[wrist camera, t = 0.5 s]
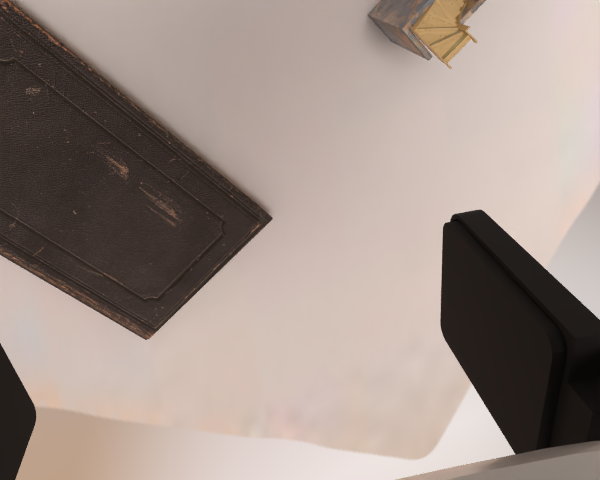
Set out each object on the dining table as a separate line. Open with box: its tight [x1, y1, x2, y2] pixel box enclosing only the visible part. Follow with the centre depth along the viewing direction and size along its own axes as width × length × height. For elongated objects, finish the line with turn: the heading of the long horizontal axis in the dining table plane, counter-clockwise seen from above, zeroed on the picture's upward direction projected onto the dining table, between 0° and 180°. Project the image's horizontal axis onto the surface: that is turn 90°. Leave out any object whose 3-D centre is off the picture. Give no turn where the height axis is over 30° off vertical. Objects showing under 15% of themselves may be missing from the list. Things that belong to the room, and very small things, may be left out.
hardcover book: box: [0, 0, 273, 340], centre depth 38 cm, size 16×23×2 cm
